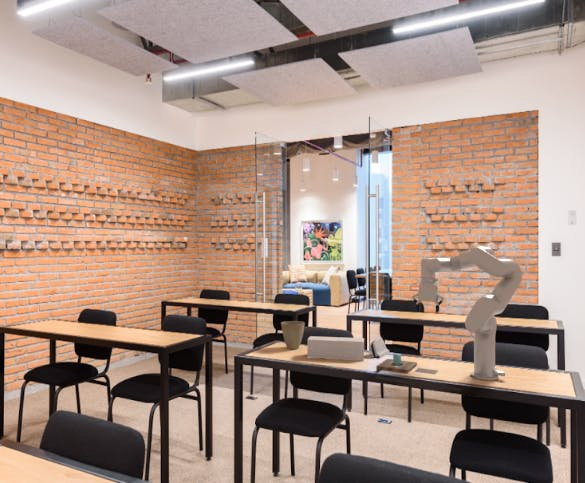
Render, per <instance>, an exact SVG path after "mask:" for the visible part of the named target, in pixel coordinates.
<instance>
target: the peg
mask: <svg viewBox="0 0 585 483" xmlns="http://www.w3.org/2000/svg"><path fill="white" fill-rule="evenodd" d="M392 359H393V365H396V366H401V361H402V354H401V353H392Z"/></svg>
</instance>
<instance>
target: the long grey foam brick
mask: <svg viewBox="0 0 585 483" xmlns="http://www.w3.org/2000/svg"><path fill="white" fill-rule="evenodd" d="M306 344H307V357H311V358H310V359H316V358H325V359H324V360H338V359H341V360H342V361H363V362H364V361H365V338H363V337H342V336H341V337H337V336H312V335H310V336H309V337H308V338H307V343H306ZM341 360H340V361H341Z"/></svg>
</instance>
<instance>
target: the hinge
mask: <svg viewBox="0 0 585 483" xmlns="http://www.w3.org/2000/svg"><path fill="white" fill-rule="evenodd" d="M369 351H370V355H371V357H372V358H375V357H379V359H381V358H384V357H386V356H387V355H389V354H390V353H391V352H390V350H389V349H388V348H387V346H386V343H385V340H383V339H375V340H373V341H371V342H370V343H369Z"/></svg>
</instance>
